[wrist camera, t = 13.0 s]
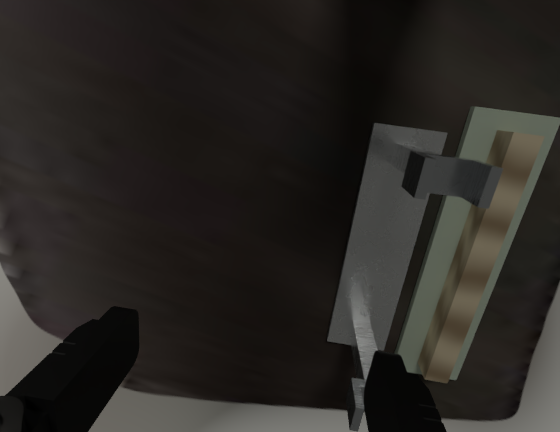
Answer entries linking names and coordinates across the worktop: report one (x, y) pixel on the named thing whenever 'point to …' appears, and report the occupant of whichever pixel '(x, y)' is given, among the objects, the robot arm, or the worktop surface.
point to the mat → (452, 222)
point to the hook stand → (393, 235)
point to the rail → (477, 254)
